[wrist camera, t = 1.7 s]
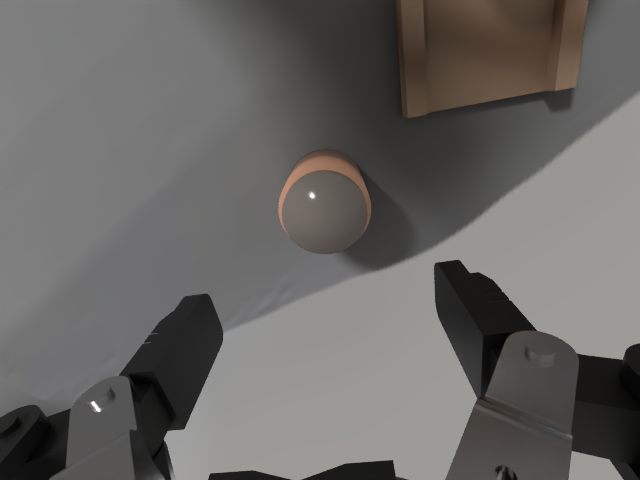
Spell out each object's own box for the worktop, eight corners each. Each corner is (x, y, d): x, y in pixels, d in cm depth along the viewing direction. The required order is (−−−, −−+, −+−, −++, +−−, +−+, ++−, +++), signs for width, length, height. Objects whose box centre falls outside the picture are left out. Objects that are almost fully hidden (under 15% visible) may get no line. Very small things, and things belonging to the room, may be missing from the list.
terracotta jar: (281, 156, 23) (265, 177, 17) (358, 142, 22) (366, 159, 17) (297, 226, 25) (288, 264, 20) (367, 216, 25) (377, 251, 19)
